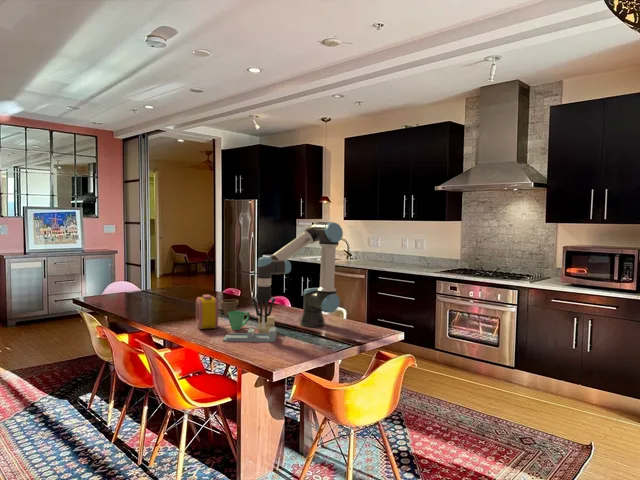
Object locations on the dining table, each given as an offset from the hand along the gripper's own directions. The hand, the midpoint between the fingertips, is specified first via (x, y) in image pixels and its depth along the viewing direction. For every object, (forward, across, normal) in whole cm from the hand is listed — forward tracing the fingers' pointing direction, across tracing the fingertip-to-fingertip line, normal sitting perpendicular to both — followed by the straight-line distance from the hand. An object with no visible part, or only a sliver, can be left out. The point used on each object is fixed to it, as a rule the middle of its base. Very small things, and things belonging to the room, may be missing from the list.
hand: (263, 328), depth 250 cm
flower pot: (+6, -29, +60) cm, 67 cm away
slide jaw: (+5, -7, 0) cm, 8 cm away
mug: (+6, -17, +24) cm, 30 cm away
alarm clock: (+7, -37, +26) cm, 45 cm away
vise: (+6, -7, 0) cm, 9 cm away
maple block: (+6, 0, +15) cm, 16 cm away
